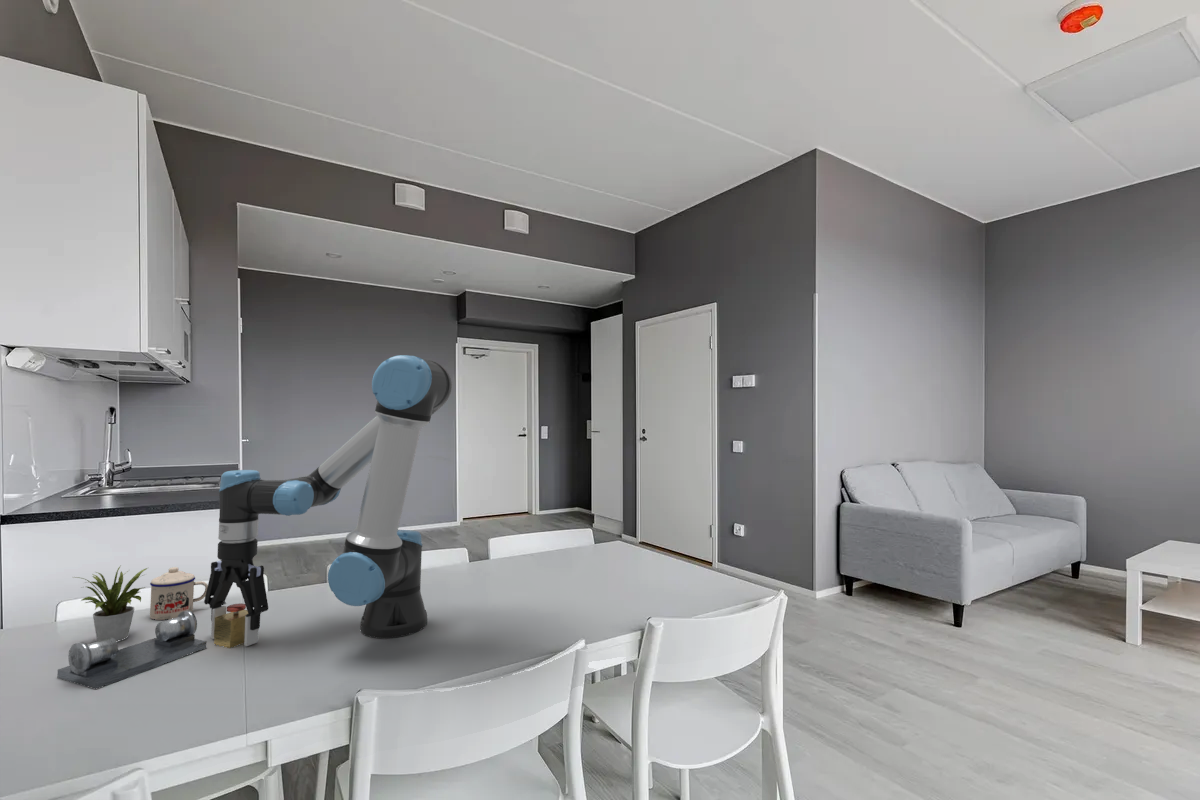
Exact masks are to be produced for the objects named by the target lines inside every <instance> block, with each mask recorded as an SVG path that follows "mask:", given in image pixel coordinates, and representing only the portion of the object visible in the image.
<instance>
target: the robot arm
mask: <svg viewBox="0 0 1200 800" xmlns="http://www.w3.org/2000/svg"><path fill="white" fill-rule="evenodd" d="M371 390H372V393H373V395H374V397H375V399H376V405H375V406H376V407H375V410H374V413H375V414H376V416H375V417H373V418H372V419H370V421H369V422H367V424H366V425H365V426H363V427H362V428H361V429H359V430H358V431H357V432H356V433H354V435H353V436H352V437H351V438H350V439H348V440H347V441H346V442H345V443H344V444H343V445H341V446H340V447H339V448H338V449H337V450H336V451H334V453H332V454H331V455H330V456H329V457H328V458H326V460H324V461H323V462H322V463H321V464H320V465H319V466H318V467H316V469H315V470H313V471H312V472H311V473H310V474H308V475H307V476H306V475H305V476H300V477H295V478H289V479H279V480H278V479H277V480H276V479H271V480H269V479H268V480H266V479H261V473H260V471H259V470H256V469H237V470H236V469H235V470H228V471H224V472H223V473H222V474H221V477H220V485H219V490H218V493H219V497H218V498H219V519H218V537H217V539H218V540H219V542H218V543H217V558H218V560H216V561H212V562H211V563H210V575H209V580H208V583H207V585H208V587H207V591H206V596H205V597H204V601H203V603H204V605H208V606H209V608H210V609H211V611H210V613H211V615H210V619H211V630H210V631H211V632H210V633H211V635H210V639H211V640H214V630H215V617H218V616H221V615H224V614H227V605H226V604H227V602H226V600H227V597H228V595H229V592H230V590H231V588H232V586H233V584H234V583H235V585H236V587H237V588H239V589H240V593H241V596H242V598H243V602H244V604H245V605H246V608H245V609H246V610H247V611H248V614H247V615H245V639H244V643H243V646H244V647H249V646H251V645H255V644H257V643H259V630H260V627H261V614H262V613H264V612H267V611H268V610H269V603H268V597H267V596H268V595H267V590H266V584H265V579H264V572H265V567H264V565H259V566H258V565H257V566H256V565H255V564H254V561H253V559H254V558H255V557H256V555H258V539H257V537H258V536H259V514H260V515H261V514H262V515H283V516H286V517H287V516H289V517H290V516H296V515H297V516H299V515H303V514H305V513H307V512H308V510H309V509H311V508H314V507H318V506H324V505H327V504H329V503H331V502H333V501H335V500H336V499H337V498H338V497H339V495H340V492H342V491H341V490H342V488H343V487H344V486H346V485H347V484H348V483H350V481H351V480H353V478H355V477H356V476H357V475H358V474H359V473H360V472H362V471H363V470H364V469H366V467H368V465H369V469H368V475H367V479H366V483H365V487H364V491H363V495H362V501H361V505H360V508H359V513H358V517H357V522H356V527H355V529H353V530H351V531H350V532H349V533H347V535H346V536H345V540H344V545H343V549H342V554H341V553H340V555H338V556H337V557H336V558H335V559H334V560H333V561H332V562H331V564H330V566H329V568H328V571H327V572H328V573H327V582H328V586H329V589H330V591H331V592H333V595H334V596H335V598H336V599H337V600H339V601H340V603H343V604H345V605H347V606H351V607H362V606H365V607H364V610H363V613H362V617H361V619H360V628H359V629H360V630H361V631H360V633H361V632H362V633H363V634H362V633H361V634H362V635H364V634H365V635H364V636H366V635H367V637H370V636H371V638H376V637H377V639H378V638H379V639H390V638H399V637H403V636H409V635H412V634H414V633H417V632H419V631H422V630H423V629H424V628H425V627H426V626H427V624H428V612H427V610H426V609H425V604H424V599H423V596H422V593H421V584H422V583H421V581H422V580H421V579H422V578H421V577H422V553H423V552H422V550H423V542H422V535H421V533H420V531H418V530H411V529H399V526H400V522H401V518H402V513H403V509H404V505H405V500H406V495H407V492H408V486H409V482H410V478H411V474H412V470H413V465H414V461H415V456H416V452H417V449H418V448H417V447H418V443H419V438H420V433H421V431H422V430H421V429H423V427H425V426H427V425H428V424H429V423H430V422H431V418H432V416H433V415H434V414H435V413H436V412H438V410H439V409H441V408H442V407H443V406H444V405H445V404H446V403H447V401H449V398H450V396H451V394H452V390H453V381H452V377H451V375H450V373H449V372H448V370H447V369H446V368H445V367H444V366H443V365H442V364H440V363H438V362H436V361H433V360H427V359H424V358H421V357H419V356H415V355H409V354H405V355H404V354H402V355H400V354H399V355H394V356H391V357H389V358H387V359H385V360H384V361H382V362H381V363H380V364H379V366H378V367H377V368H376V369H375V371H374V373H373V377H372V379H371Z"/></svg>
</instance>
